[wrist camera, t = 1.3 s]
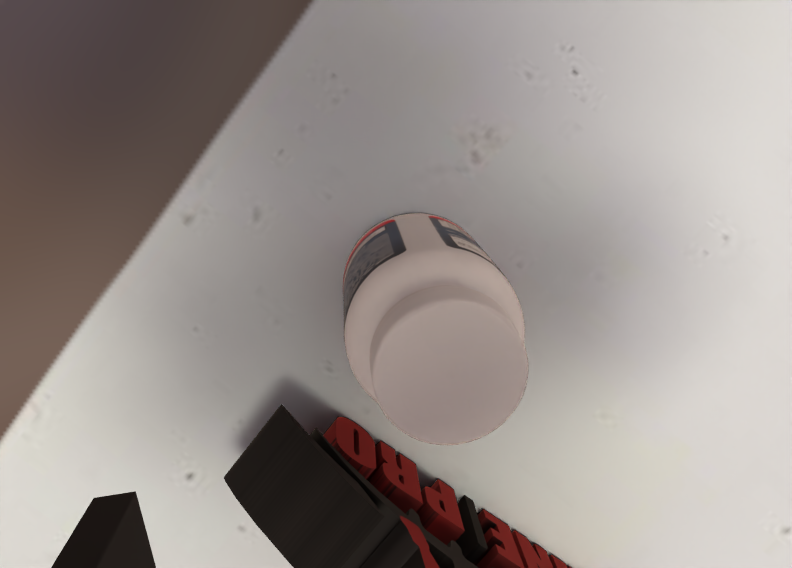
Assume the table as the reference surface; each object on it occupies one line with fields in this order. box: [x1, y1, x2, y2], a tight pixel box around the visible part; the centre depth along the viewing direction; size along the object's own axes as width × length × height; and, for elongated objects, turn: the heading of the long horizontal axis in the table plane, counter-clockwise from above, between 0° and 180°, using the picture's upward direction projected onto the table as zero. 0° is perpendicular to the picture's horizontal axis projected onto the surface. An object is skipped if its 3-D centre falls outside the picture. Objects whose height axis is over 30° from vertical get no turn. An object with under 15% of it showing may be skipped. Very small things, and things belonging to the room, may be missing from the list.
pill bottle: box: [343, 213, 528, 445], centre depth 22 cm, size 5×5×9 cm
